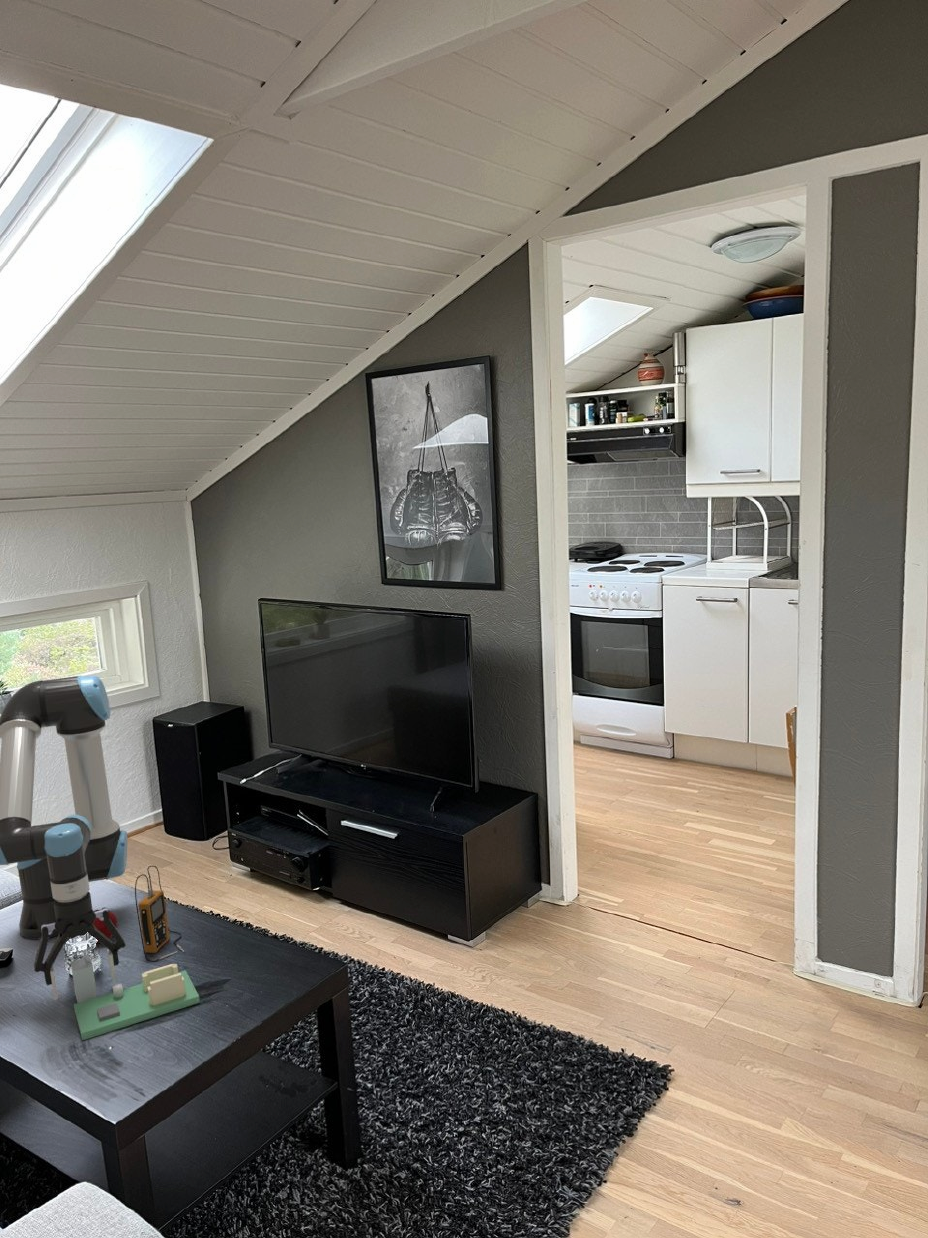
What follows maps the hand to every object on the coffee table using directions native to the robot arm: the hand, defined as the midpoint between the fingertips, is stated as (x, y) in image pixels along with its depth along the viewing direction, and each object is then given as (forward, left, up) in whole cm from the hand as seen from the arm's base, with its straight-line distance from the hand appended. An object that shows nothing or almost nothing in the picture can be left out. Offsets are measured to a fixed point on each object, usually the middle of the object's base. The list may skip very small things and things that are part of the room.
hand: (85, 987), depth 212 cm
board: (+11, +9, -2) cm, 14 cm away
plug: (0, 0, -2) cm, 2 cm away
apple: (-26, +7, -2) cm, 27 cm away
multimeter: (-12, +21, -2) cm, 24 cm away
